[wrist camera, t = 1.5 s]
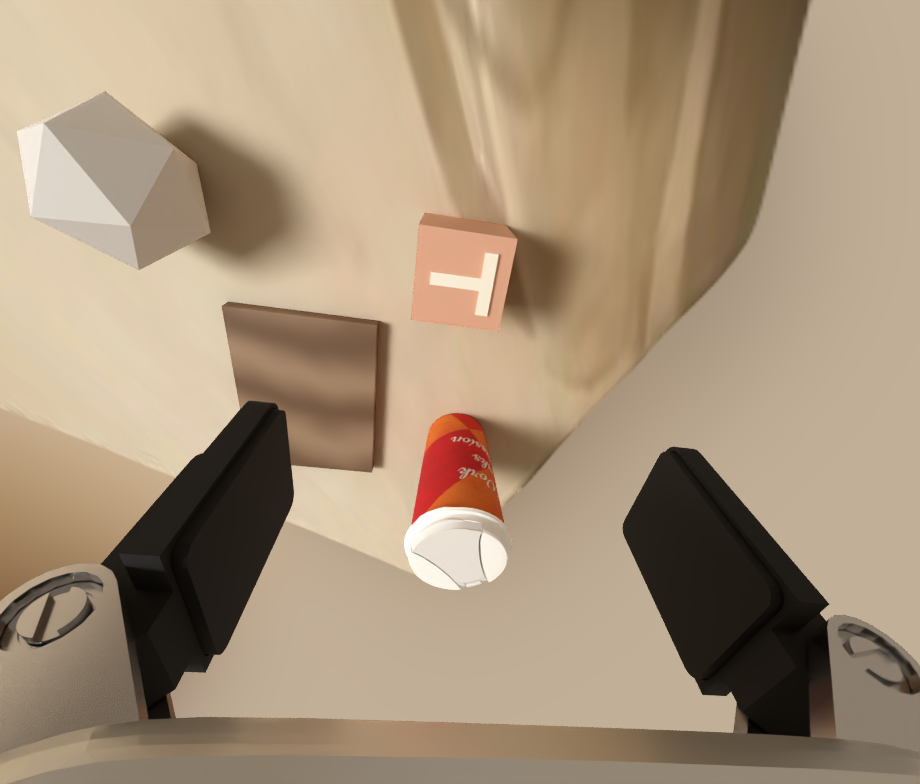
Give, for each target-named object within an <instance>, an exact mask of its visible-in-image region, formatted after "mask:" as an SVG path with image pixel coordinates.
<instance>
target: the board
mask: <svg viewBox="0 0 920 784" xmlns="http://www.w3.org/2000/svg"><path fill="white" fill-rule="evenodd" d="M222 310H223V316H224V321H225V327H226V333H227V338H228V344H229V349H230V355H231V360H232V366H233V371H234V377H235V383H236V388H237V394H238V399H239V405H240V409H241V408H242V407H243V406H244V404H245V403H246V402H248V401H260V402H269V403H275V404H277V406H278V409H279V410H284V411H285V413H286V419H287V429H288V439H289V449H290V459H291V465H296V466H307V467H318V468H329V469H340V470H351V471H362V472H372V470H373V465H374V438H375V410H376V383H377V356H378V328H379V321H374V320H366V319H358V318H350V317H343V316H335V315H327V314H319V313H311V312H303V311H295V310H288V309H280V308H272V307H264V306H256V305H248V304H240V303H232V302H227V303H226V304H224V305H222Z"/></svg>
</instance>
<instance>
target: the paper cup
mask: <svg viewBox="0 0 920 784" xmlns="http://www.w3.org/2000/svg"><path fill="white" fill-rule="evenodd" d="M404 547H405V551H406V554H407V556H408V558H409V563H410V566H411V568H412V570H413V571H414V573H415V574H416V575H417V576H418V577H419V578H420V579H422V580H423V581H424V582H426V583H428V584H430V585H433V586H436V587H439V588H444V589H451V590H461V587H462V586H467V588H468V587H472V586H475V585H480V584H482V581H486V580H488V582H491V581H492V580H494V579H495V578H496V577H498V576H499V575H500V574H501V573H502V571H503V569H504V568H505V566H506V564H507V561H508V555H509V553H510V550H511V547H512V537H511V534H510V531H509V529H508V528H507V526H506V525H505V524H504V520H503V516H502V511H501V506H500V502H499V497H498V492H497V488H496V483H495V478H494V474H493V469H492V465H491V460H490V456H489V451H488V447H487V443H486V439H485V435H484V432H483V429H482V427H481V425H480V424H479V422H478V421H477V420H475V419H474V418H472V417H471V416H468V415H465V414H459V413H453V414H448V415H445V416H442V417H440V418H439V419H437V420H436V421H435V422H434V423H433V424H432V426H431V428H430V430H429V433H428V438H427V442H426V447H425V453H424V458H423V463H422V469H421V474H420V480H419V486H418V491H417V497H416V503H415V508H414V514H413V519H412V525H411V526H410V528H409V529H408V531H407V533H406V536H405V541H404ZM465 583H466V584H465Z"/></svg>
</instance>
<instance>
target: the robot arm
mask: <svg viewBox="0 0 920 784" xmlns="http://www.w3.org/2000/svg"><path fill="white" fill-rule="evenodd" d="M293 498H294V489H293V479H292V469H291V459H290V449H289V439H288V429H287V419H286V413H285V411H284V410H279V409H278V406H277V404H275V403H269V402H260V401H248V402H246V403H245V404H244V406H243V407H242V408H241V409H240V410H239V412H238V413H237V414H236V415H235V416H234V417H233V419H232V420H231V421H230V422H229V423H228V425H227V426H226V427H225V428H224V429H223V430H222V432H221V433H220V434H219V435H218V436H217V438H216V439H215V440H214V441H213V442H212V443H211V445H210V446H209V447H208V448H207V449H206V451H205V452H204V453H203V454H199V455H197V456H195V457H194V458H193V459H192V460H191V461H190V462H189V463H188V464H187V466H186V467H185V468H184V469H183V470H182V471H181V472H180V474H179V475H178V476H177V477H176V478H175V479H174V481H173V482H172V483H171V484H170V485H169V486H168V487H167V489H166V490H165V491H164V492H163V493H162V495H161V496H160V497H159V498H158V499H157V500H156V501H155V502H154V504H153V505H152V506H151V507H150V508H149V509H148V511H147V512H146V513H145V514H144V515H143V516H142V517H141V519H140V520H139V521H138V522H137V523H136V525H135V526H134V527H133V528H132V529H131V530H130V531H129V532H128V534H127V535H126V536H125V537H124V538H123V540H121V542H120V543H119V544H118V545H117V546H116V547H115V549H114V550H113V551H112V552H111V553H110V555H108V557H107V558H106V559H105V560H104V561H103V562H102V564H101V565H98V564H91V563H84V564H74V565H68V566H65V567H62V568H58V569H55V570H52V571H49V572H47V573H45V574H43V575H40V576H38V577H36V578H34V579H32V580H30V581H28V582H27V583H25V584H23V585H22V586H20V587H19V588H17V589H16V590H14V591H12V592H11V593H9V594H8V595H7V596H6V597H5V598H4V599H3V600H2V601H0V784H920V666H919V664H918V663H917V662H916V660H914V659H913V657H911V655H910V654H908V652H907V651H905V649H903V647H901V646H900V645H899V644H898V643H896V642H895V641H894V640H892V639H891V638H890V637H889V636H888V635H886V634H885V633H883V632H881V631H880V630H878V629H877V628H875V627H874V626H872V625H870V624H868V623H866V622H864V621H862V620H859V619H857V618H854V617H850V616H846V615H834V616H833V617H831V618H830V619H829V620H827V621H825V619H824V618H823V617H822V616H821V614H820V612H821V611H822V610H823V609H824V608H825V607H827V606H828V605H829V603H828V602H827V601H826V600H825V599H824V597H823V596H822V595H821V594H820V593H819V592H818V590H817V589H816V588H815V587H814V586H813V585H812V583H811V582H810V581H809V580H808V579H807V577H806V576H805V575H804V574H803V573H802V572H801V570H800V569H799V568H798V567H797V566H796V565H795V564H794V562H793V561H792V560H791V559H790V558H789V557H788V555H787V554H786V553H785V552H784V551H783V549H782V548H781V547H780V546H779V545H778V544H777V542H776V541H775V540H774V539H773V538H772V537H771V536H770V534H769V533H768V532H767V531H766V529H765V528H764V527H763V526H762V525H761V524H760V522H759V521H758V520H757V519H756V518H755V517H754V515H753V514H752V513H751V512H750V511H749V510H748V508H747V507H746V506H745V505H744V504H743V503H742V501H741V500H740V499H739V498H738V497H737V496H736V494H735V493H734V492H733V491H732V490H731V489H730V487H729V486H728V485H727V484H726V483H725V481H724V480H723V479H722V478H721V477H720V476H719V474H718V473H717V472H716V471H715V470H714V469H713V467H712V466H711V465H710V464H709V463H708V462H707V460H706V459H705V458H704V457H703V456H702V455H701V453H699V452H698V451H697V450H695V449H689V448H679V447H671V448H669V449H667V451H666V452H663V453H661V454H660V456H659V458H658V459H657V461H656V463H655V465H654V467H653V469H652V470H651V472H650V474H649V476H648V478H647V480H646V482H645V484H644V486H643V487H642V489H641V491H640V493H639V495H638V496H637V498H636V500H635V502H634V504H633V506H632V508H631V509H630V511H629V513H628V515H627V517H626V519H625V521H624V523H623V534H624V537H625V539H626V541H627V543H628V545H629V547H630V550H631V552H632V554H633V556H634V558H635V561H636V563H637V565H638V567H639V569H640V571H641V574H642V576H643V578H644V580H645V582H646V584H647V586H648V589H649V591H650V593H651V595H652V597H653V599H654V602H655V604H656V606H657V608H658V610H659V612H660V615H661V617H662V619H663V621H664V623H665V626H666V628H667V630H668V632H669V634H670V636H671V638H672V641H673V643H674V645H675V647H676V649H677V651H678V654H679V656H680V658H681V660H682V662H683V664H684V667H685V668H686V670H687V672H688V673H689V674H690V675H691V676H692V677H694V678H695V680H696V682H697V684H698V686H699V688H700V690H701V693H702V694H703V695H717V696H727V695H728V694H729V693H730V692H732V694H733V696H734V698H735V700H736V702H737V706H736V714H735V723H734V731H733V733H722V732H697V731H673V730H647V729H646V730H645V729H622V728H620V729H619V728H594V727H567V726H536V725H509V724H507V725H506V724H480V723H447V722H416V721H415V722H414V721H380V720H347V719H315V718H229V717H197V718H176V717H175V712H174V707H173V703H172V698H171V694H170V692H172V691H173V690H175V689H176V687H177V685H178V683H179V681H180V679H181V677H182V675H183V673H184V672H206V670H207V668H208V666H209V664H210V662H211V660H212V658H213V656H214V655H220V654H222V653H223V651H224V650H225V648H226V647H227V645H228V643H229V641H230V639H231V636H232V634H233V632H234V630H235V628H236V626H237V624H238V621H239V619H240V617H241V615H242V613H243V610H244V608H245V606H246V604H247V602H248V600H249V598H250V595H251V593H252V591H253V588H254V587H255V585H256V582H257V580H258V578H259V576H260V574H261V571H262V569H263V567H264V565H265V563H266V561H267V558H268V556H269V554H270V552H271V550H272V548H273V545H274V543H275V541H276V539H277V537H278V535H279V532H280V530H281V528H282V526H283V524H284V522H285V519H286V517H287V515H288V513H289V511H290V508H291V506H292V503H293Z"/></svg>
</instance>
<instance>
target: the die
mask: <svg viewBox="0 0 920 784" xmlns="http://www.w3.org/2000/svg"><path fill="white" fill-rule="evenodd" d="M17 135H18V141H19V147H20V153H21V160H22V166H23V172H24V178H25V184H26V190H27V197H28V203H29V209H30V215H31V217H32V218H34V219H36V220H38V221H40V222H42V223H44V224H46V225H48V226H50V227H52V228H55V229H57V230H59V231H61V232H63V233H65V234H67V235H69V236H71V237H73V238H75V239H77V240H79V241H81V242H83V243H85V244H87V245H89V246H91V247H93V248H95V249H97V250H99V251H101V252H103V253H105V254H107V255H109V256H111V257H113V258H115V259H117V260H119V261H122V262H124V263H126V264H128V265H130V266H132V267H134V268H136V269H138V270H140V269H142V268H144V267H146V266H148V265H150V264H152V263H154V262H156V261H158V260H159V259H161V258H163V257H165V256H167V255H169V254H171V253H173V252H175V251H177V250H179V249H181V248H183V247H185V246H187V245H189V244H190V243H192V242H194V241H196V240H198V239H200V238H202V237H204V236H206V235H208V234H210V233H211V231H210V226H209V221H208V216H207V212H206V207H205V202H204V197H203V192H202V187H201V182H200V178H199V173H198V168H197V163H195V162H194V161H193V160H192V159H190V158H189V157H188V156H187V155H185V154H184V153H183V152H181V151H180V150H179V149H178V148H176V147H175V146H174V145H173V144H171V143H170V142H169V141H168V140H166V139H165V138H164V137H163V136H161V135H160V134H159V133H157V132H156V131H155V130H154V129H152V128H151V127H150V126H149V125H147V124H146V123H145V122H144V121H142V120H141V119H140V118H139V117H137V116H136V115H135V114H133V113H132V112H131V111H130V110H128V109H127V108H126V107H125V106H123V105H122V104H121V103H120V102H118V101H117V100H116V99H114V98H113V97H112V96H111V95H109V94H108V93H107V92H106V91H105V92H103V93H100V94H98V95H96V96H94V97H92V98H89V99H87V100H85V101H83V102H80V103H78V104H76V105H74V106H72V107H69V108H67V109H65V110H63V111H60V112H58V113H56V114H54V115H52V116H49V117H47V118H45V119H43V120H40V121H38V122H36V123H34V124H32V125H29V126H27V127H25V128H23V129H20V130H18V131H17Z"/></svg>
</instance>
